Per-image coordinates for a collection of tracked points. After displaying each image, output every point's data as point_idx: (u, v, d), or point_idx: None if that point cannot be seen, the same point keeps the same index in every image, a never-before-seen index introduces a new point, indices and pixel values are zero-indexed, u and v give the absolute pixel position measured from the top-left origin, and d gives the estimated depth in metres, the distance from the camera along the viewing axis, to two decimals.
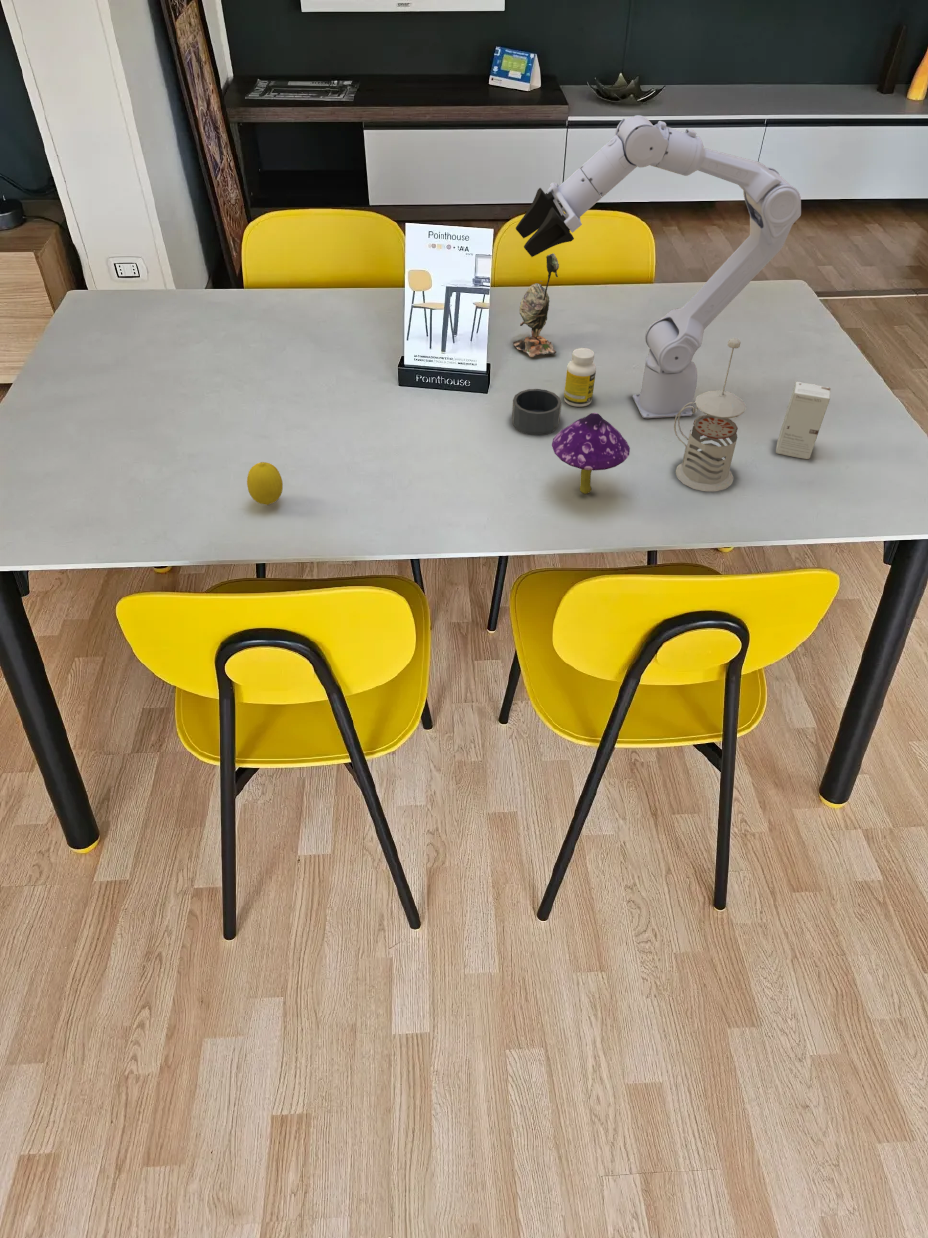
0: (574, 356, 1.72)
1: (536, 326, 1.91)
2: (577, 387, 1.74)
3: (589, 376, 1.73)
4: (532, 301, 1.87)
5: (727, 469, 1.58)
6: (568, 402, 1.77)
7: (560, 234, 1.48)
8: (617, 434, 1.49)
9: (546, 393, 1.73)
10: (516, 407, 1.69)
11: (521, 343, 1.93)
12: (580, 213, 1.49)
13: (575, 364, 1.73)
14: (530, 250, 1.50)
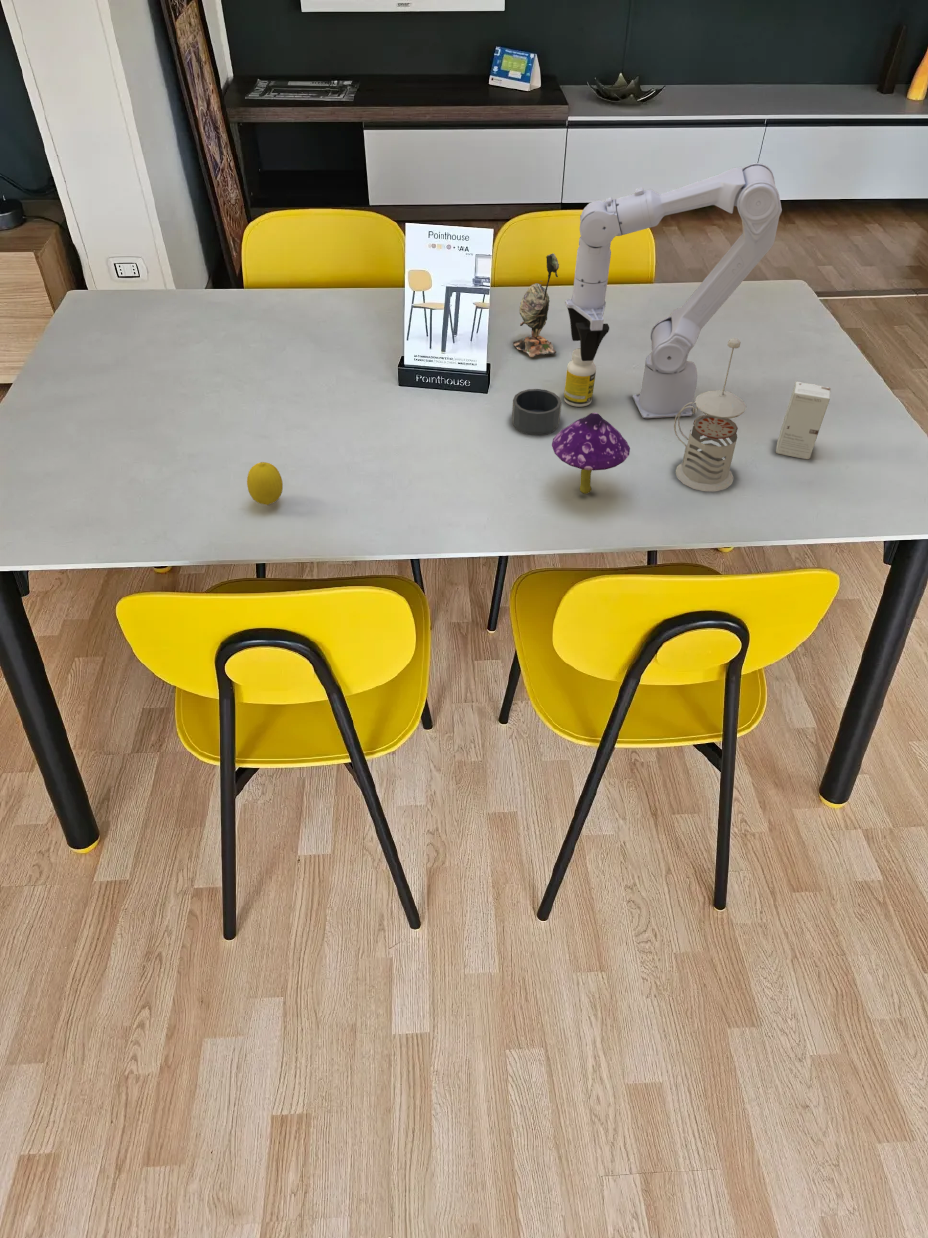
0: (574, 356, 1.72)
1: (536, 326, 1.91)
2: (577, 387, 1.74)
3: (589, 376, 1.73)
4: (532, 301, 1.87)
5: (727, 469, 1.58)
6: (568, 402, 1.77)
7: (598, 332, 1.65)
8: (617, 434, 1.49)
9: (546, 393, 1.73)
10: (516, 407, 1.69)
11: (521, 343, 1.93)
12: (601, 303, 1.64)
13: (575, 364, 1.73)
14: (587, 358, 1.69)
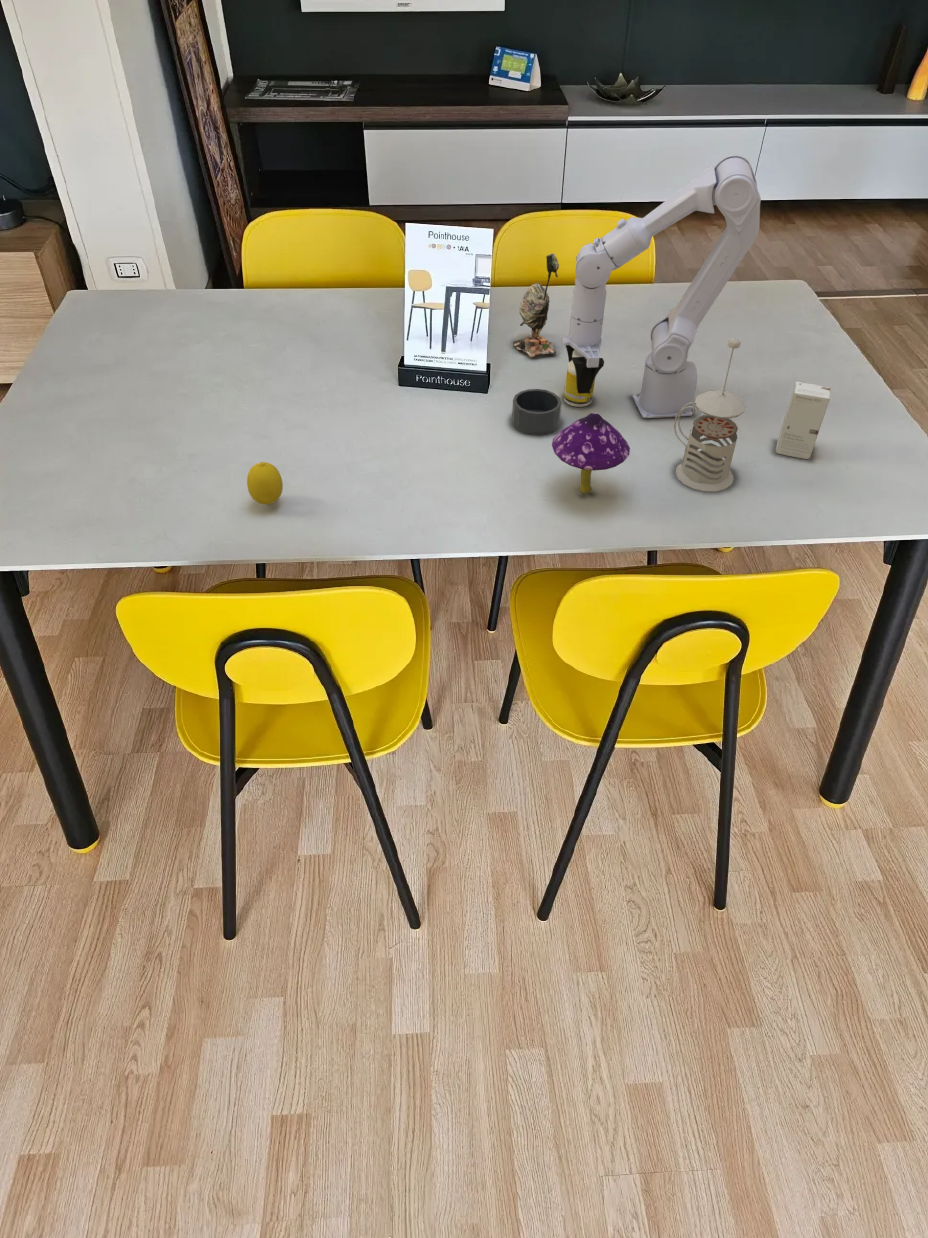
0: (574, 356, 1.72)
1: (536, 326, 1.91)
2: None
3: None
4: (532, 301, 1.87)
5: (727, 469, 1.58)
6: (568, 402, 1.77)
7: None
8: (617, 434, 1.49)
9: (546, 393, 1.73)
10: (516, 407, 1.69)
11: (521, 343, 1.93)
12: (597, 341, 1.69)
13: None
14: (583, 391, 1.74)
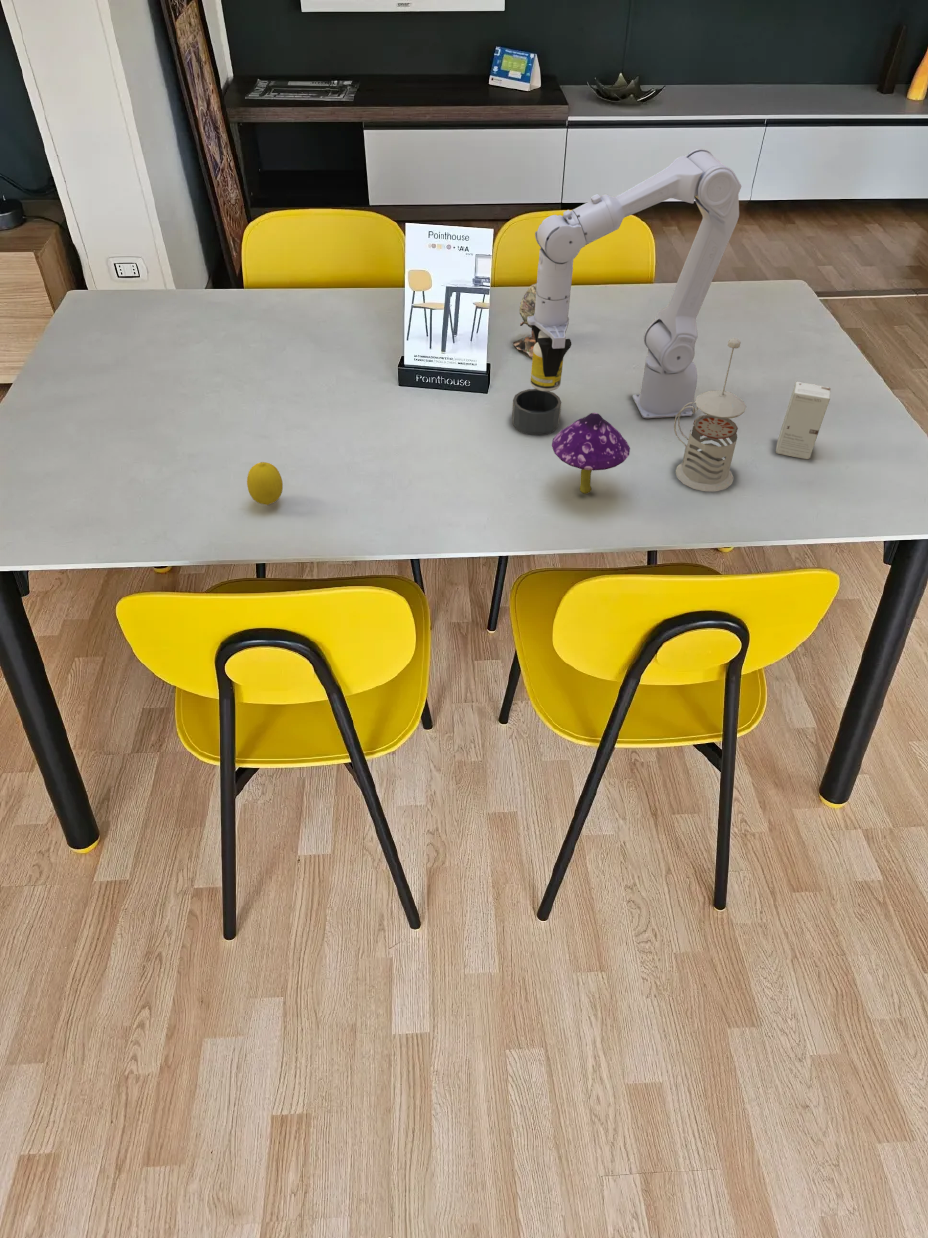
0: (540, 337, 1.62)
1: None
2: None
3: None
4: (532, 301, 1.87)
5: (727, 469, 1.58)
6: (535, 386, 1.67)
7: (560, 347, 1.60)
8: (617, 434, 1.49)
9: (546, 393, 1.73)
10: (516, 407, 1.69)
11: (521, 343, 1.93)
12: (564, 320, 1.59)
13: None
14: (550, 374, 1.64)
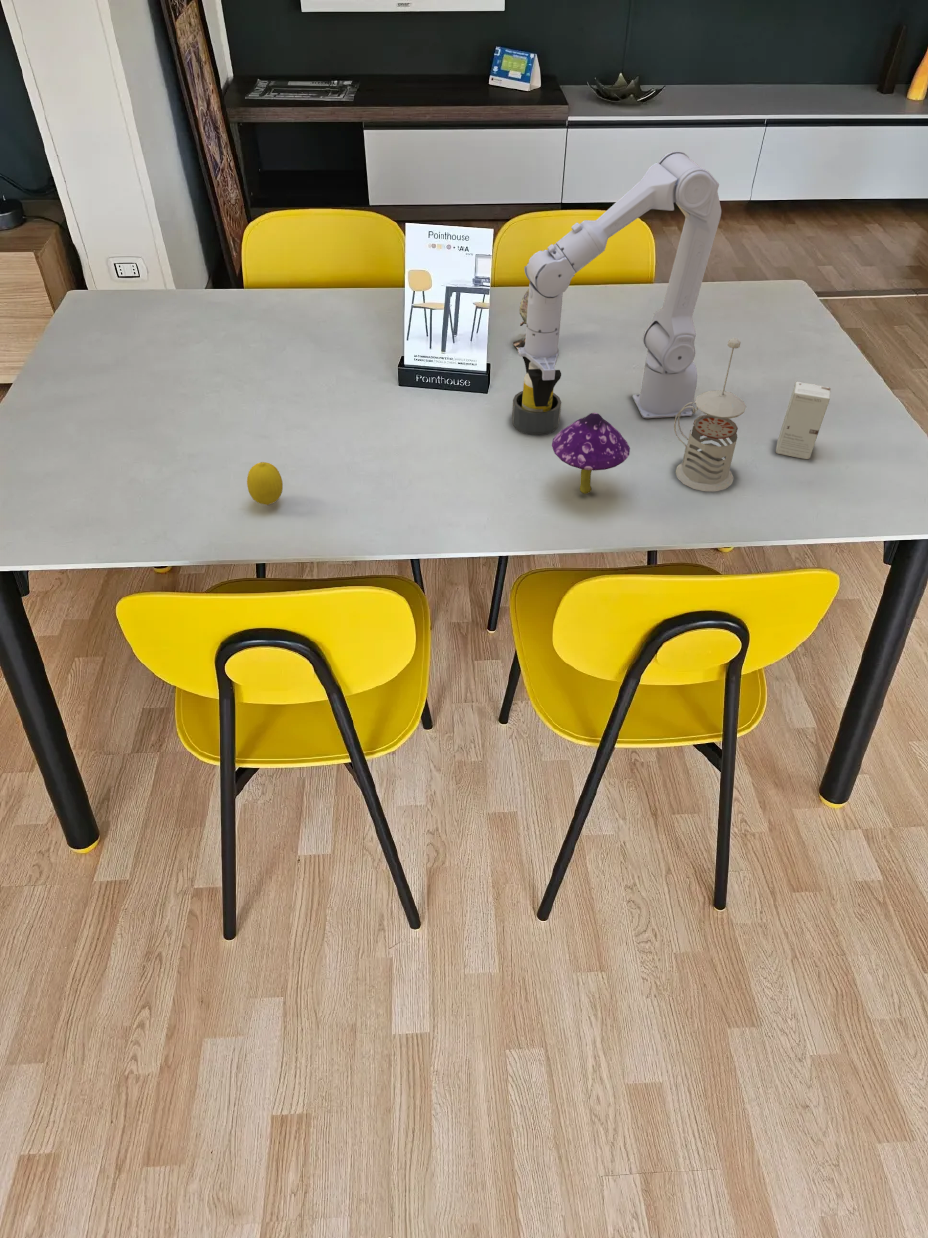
0: (530, 368, 1.64)
1: None
2: None
3: None
4: None
5: (727, 469, 1.58)
6: None
7: None
8: (617, 434, 1.49)
9: None
10: (516, 407, 1.69)
11: (521, 343, 1.93)
12: (553, 352, 1.61)
13: None
14: (541, 404, 1.67)
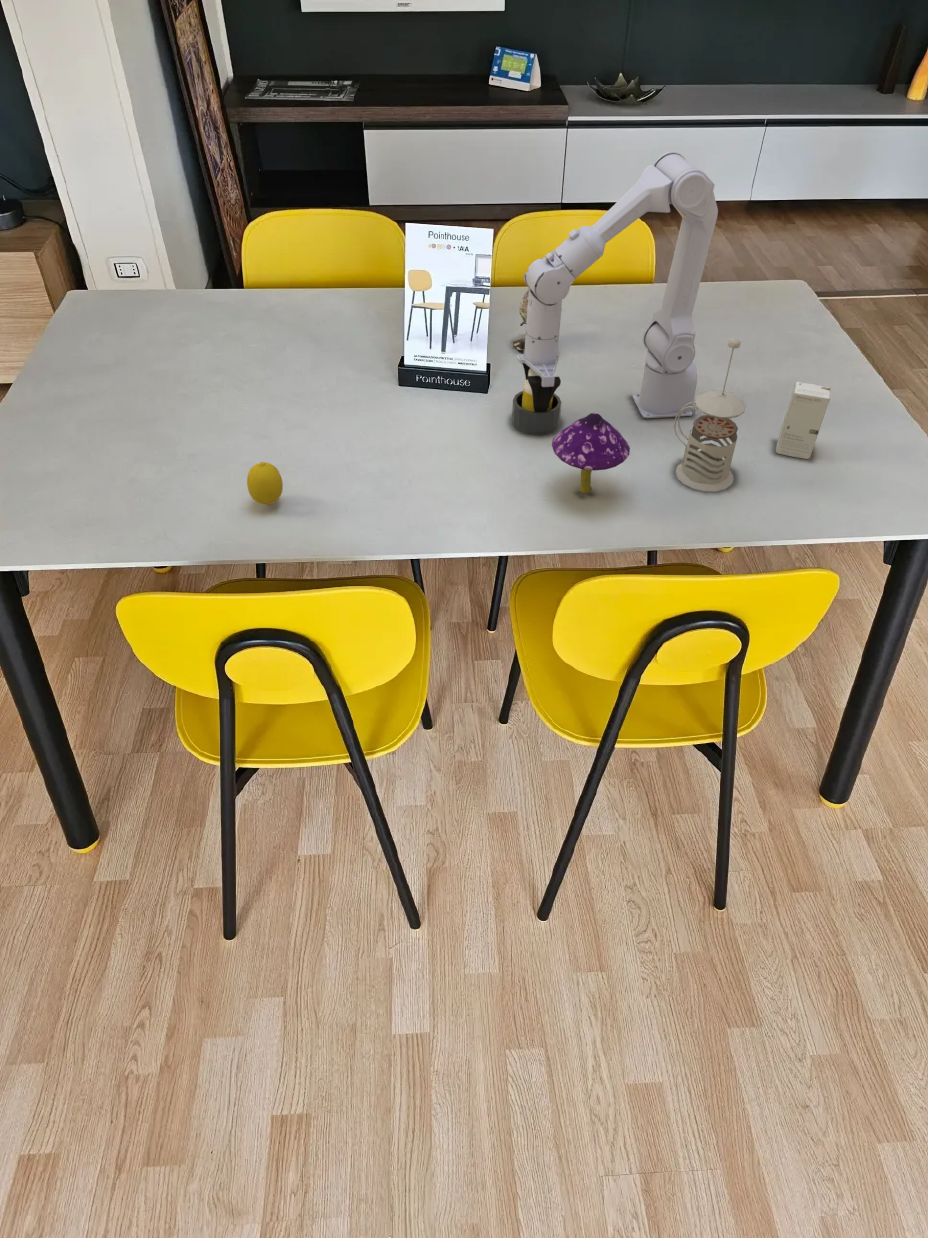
0: (530, 375, 1.65)
1: None
2: None
3: None
4: None
5: (727, 469, 1.58)
6: None
7: None
8: (617, 434, 1.49)
9: None
10: (516, 407, 1.69)
11: (521, 343, 1.93)
12: (553, 359, 1.62)
13: None
14: (540, 410, 1.67)
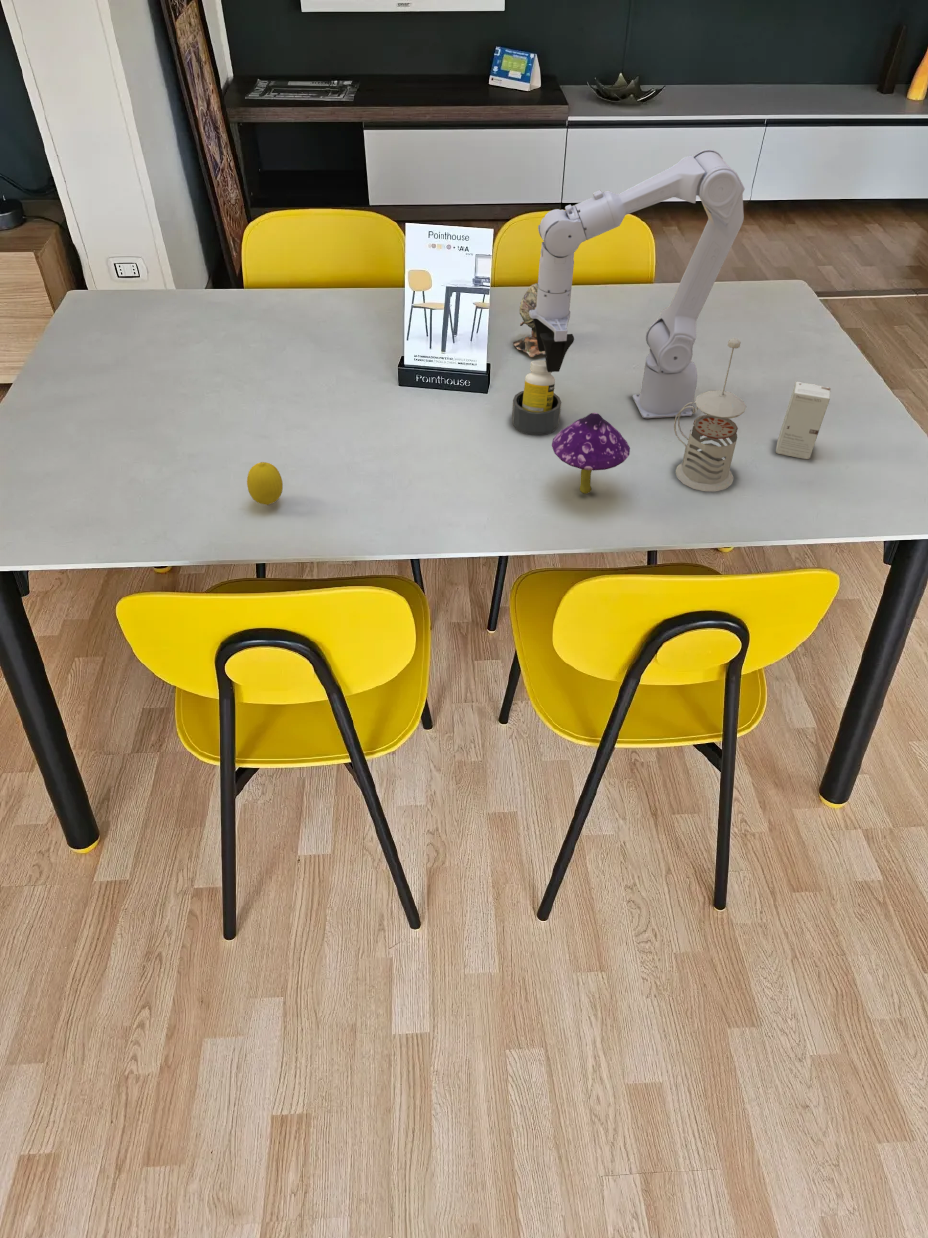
0: (532, 365, 1.67)
1: None
2: (535, 398, 1.68)
3: (548, 386, 1.67)
4: (532, 301, 1.87)
5: (727, 469, 1.58)
6: None
7: (562, 342, 1.62)
8: (617, 434, 1.49)
9: None
10: (516, 407, 1.69)
11: (521, 343, 1.93)
12: (565, 313, 1.61)
13: (533, 374, 1.67)
14: (553, 369, 1.66)
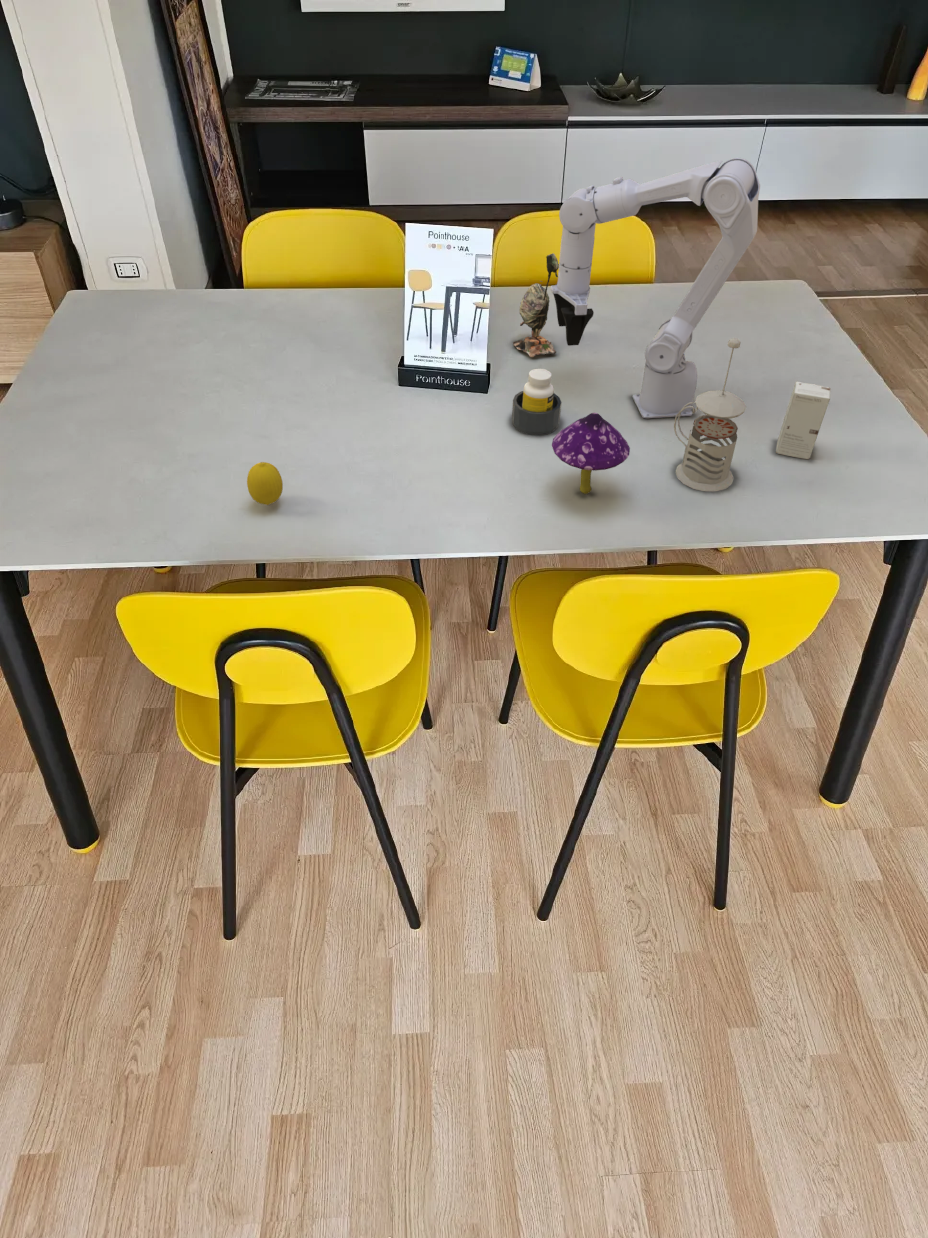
0: (530, 378, 1.65)
1: (536, 326, 1.91)
2: (535, 409, 1.67)
3: (547, 398, 1.66)
4: (532, 301, 1.87)
5: (727, 469, 1.58)
6: None
7: (582, 317, 1.69)
8: (617, 434, 1.49)
9: None
10: (516, 407, 1.69)
11: (521, 343, 1.93)
12: (585, 289, 1.68)
13: (532, 386, 1.66)
14: (573, 342, 1.73)
